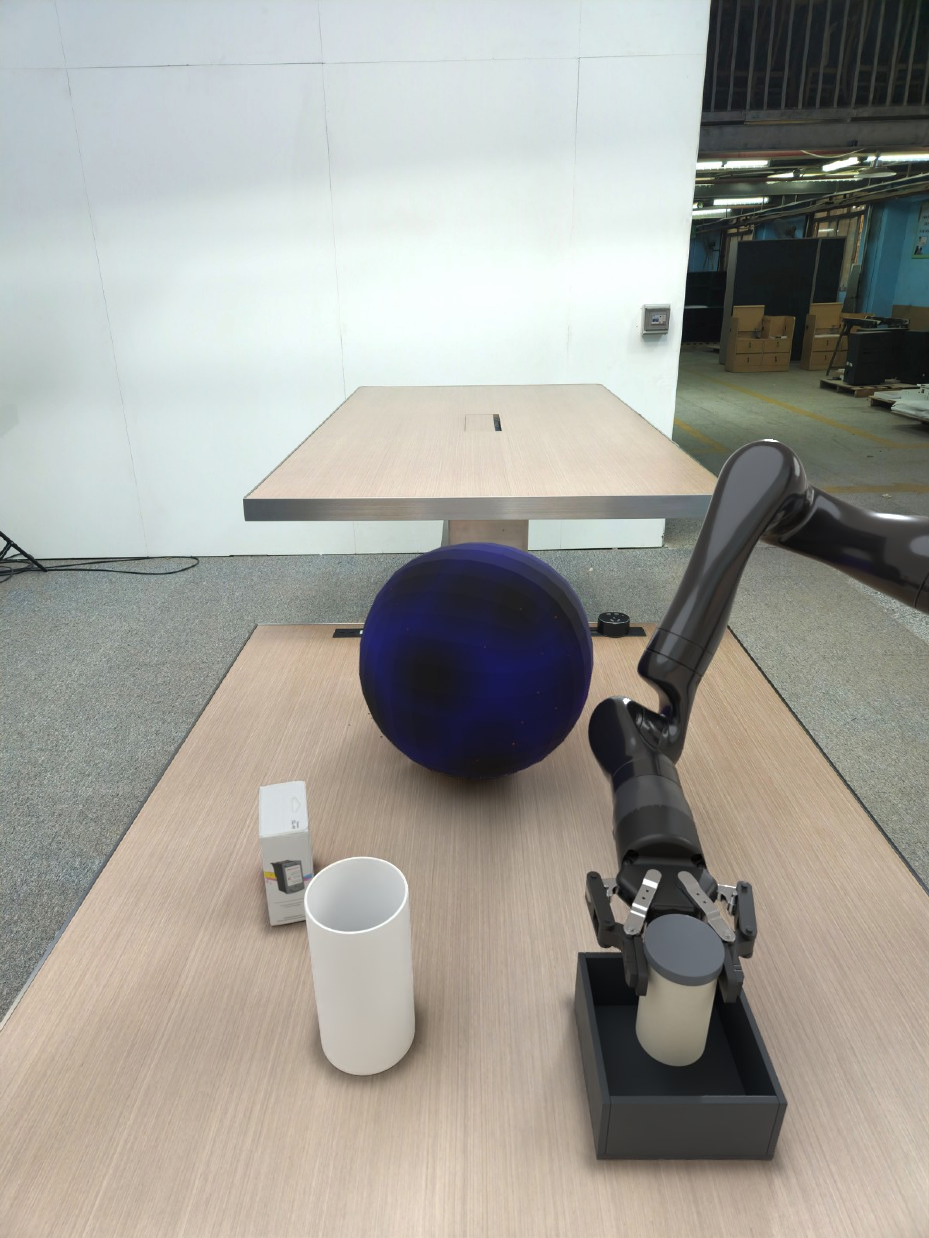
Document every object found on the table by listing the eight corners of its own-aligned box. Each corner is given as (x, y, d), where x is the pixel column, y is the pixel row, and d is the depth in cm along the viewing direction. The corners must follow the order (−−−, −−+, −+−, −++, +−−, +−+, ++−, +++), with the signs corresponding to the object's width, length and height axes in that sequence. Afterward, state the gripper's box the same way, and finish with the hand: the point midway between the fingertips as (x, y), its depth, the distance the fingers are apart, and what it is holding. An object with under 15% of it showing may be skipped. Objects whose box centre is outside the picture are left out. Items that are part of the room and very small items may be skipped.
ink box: (268, 869, 84) (255, 783, 79) (314, 861, 85) (304, 776, 80) (269, 929, 76) (255, 838, 71) (320, 920, 77) (309, 829, 72)
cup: (403, 1082, 62) (394, 940, 55) (307, 1067, 63) (287, 926, 56) (423, 996, 69) (418, 861, 62) (337, 984, 70) (323, 851, 63)
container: (696, 1001, 63) (711, 913, 58) (717, 1068, 57) (735, 976, 53) (626, 1002, 63) (637, 913, 58) (641, 1068, 57) (653, 976, 53)
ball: (296, 791, 97) (269, 574, 84) (394, 678, 123) (384, 501, 111) (560, 850, 86) (574, 612, 74) (604, 713, 113) (619, 522, 101)
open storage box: (719, 1004, 68) (729, 951, 65) (772, 1159, 56) (788, 1103, 53) (573, 1004, 68) (577, 951, 65) (596, 1159, 56) (602, 1103, 53)
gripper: (579, 798, 69) (590, 947, 53) (740, 806, 67) (799, 962, 52) (575, 861, 72) (584, 1019, 57) (728, 870, 71) (780, 1034, 55)
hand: (687, 990), depth 54 cm, fingers closed on container, 5 cm apart
